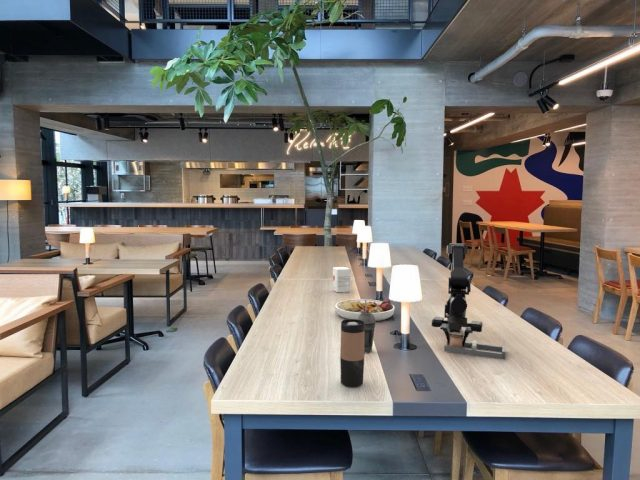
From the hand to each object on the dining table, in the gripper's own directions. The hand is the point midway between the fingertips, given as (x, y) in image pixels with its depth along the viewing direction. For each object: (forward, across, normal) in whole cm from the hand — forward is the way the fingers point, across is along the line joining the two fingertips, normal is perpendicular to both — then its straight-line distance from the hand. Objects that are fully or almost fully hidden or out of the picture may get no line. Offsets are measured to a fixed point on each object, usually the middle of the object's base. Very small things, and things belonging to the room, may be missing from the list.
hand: (456, 345), depth 178 cm
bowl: (+2, -49, +35) cm, 60 cm away
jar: (+1, 0, 0) cm, 1 cm away
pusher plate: (+2, +7, 0) cm, 7 cm away
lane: (+2, +7, 0) cm, 7 cm away
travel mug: (+2, -27, -48) cm, 55 cm away
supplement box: (+2, -80, +84) cm, 116 cm away
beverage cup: (+2, -32, -17) cm, 36 cm away
